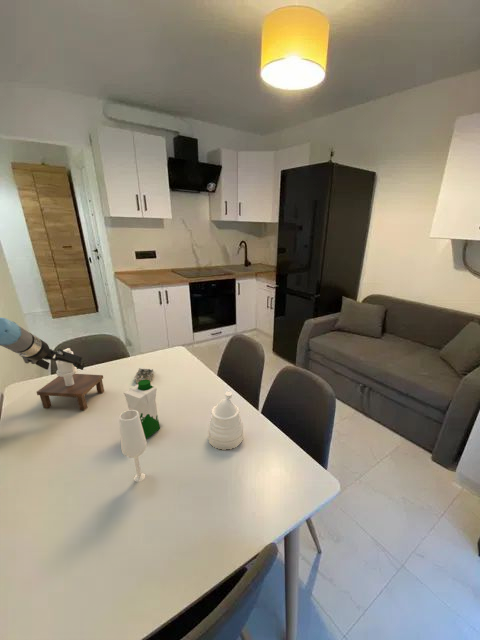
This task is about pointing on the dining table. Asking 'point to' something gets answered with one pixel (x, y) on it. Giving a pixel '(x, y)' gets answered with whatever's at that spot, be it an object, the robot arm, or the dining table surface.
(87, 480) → the dining table surface
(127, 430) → the champagne flute
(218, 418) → the honey pot
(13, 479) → the dining table surface
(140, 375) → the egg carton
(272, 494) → the dining table surface
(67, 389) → the low table
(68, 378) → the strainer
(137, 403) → the milk carton
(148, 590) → the dining table surface
